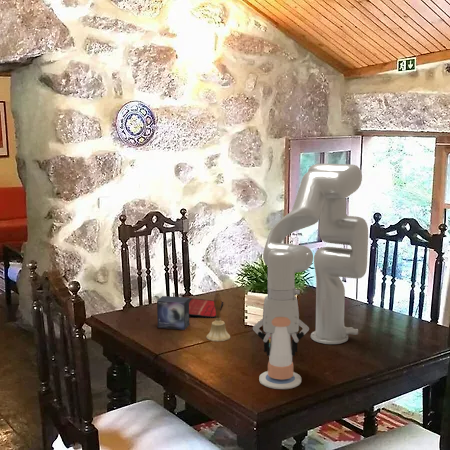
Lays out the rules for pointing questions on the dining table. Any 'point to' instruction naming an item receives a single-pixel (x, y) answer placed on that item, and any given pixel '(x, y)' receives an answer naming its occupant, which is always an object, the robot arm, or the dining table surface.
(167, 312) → the small box
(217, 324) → the hand bell
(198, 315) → the binder
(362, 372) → the dining table surface
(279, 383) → the coaster
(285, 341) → the pepper shaker
